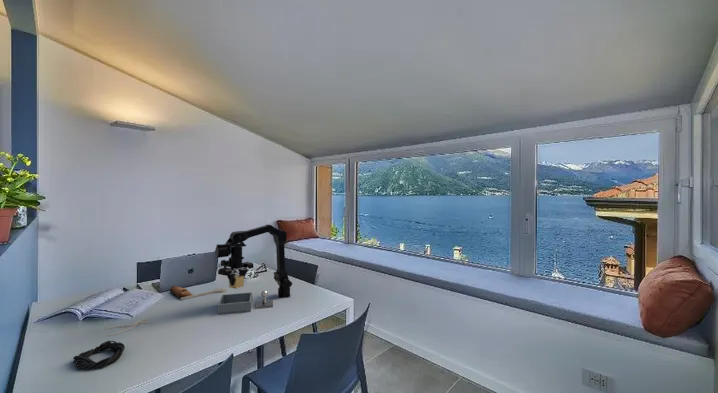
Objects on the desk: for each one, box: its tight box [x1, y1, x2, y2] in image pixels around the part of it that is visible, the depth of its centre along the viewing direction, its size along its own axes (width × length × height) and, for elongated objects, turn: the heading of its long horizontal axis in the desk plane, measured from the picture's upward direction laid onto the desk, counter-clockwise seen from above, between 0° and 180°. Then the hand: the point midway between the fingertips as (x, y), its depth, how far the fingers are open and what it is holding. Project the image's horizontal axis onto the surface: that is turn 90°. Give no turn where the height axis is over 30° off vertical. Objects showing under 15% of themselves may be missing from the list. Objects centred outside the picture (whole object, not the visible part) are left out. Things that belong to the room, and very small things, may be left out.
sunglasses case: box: [169, 285, 194, 300], centre depth 181 cm, size 18×7×7 cm
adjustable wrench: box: [180, 287, 227, 301], centre depth 180 cm, size 25×6×2 cm, turn 132°
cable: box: [73, 340, 126, 370], centre depth 110 cm, size 17×14×4 cm
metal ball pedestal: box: [255, 289, 274, 309], centre depth 165 cm, size 9×9×8 cm
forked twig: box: [104, 318, 149, 337], centre depth 136 cm, size 10×2×15 cm
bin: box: [217, 292, 253, 316], centre depth 161 cm, size 16×16×5 cm
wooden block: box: [228, 274, 245, 289], centre depth 161 cm, size 5×5×6 cm
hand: (236, 284), depth 161 cm, fingers closed on wooden block, 5 cm apart
